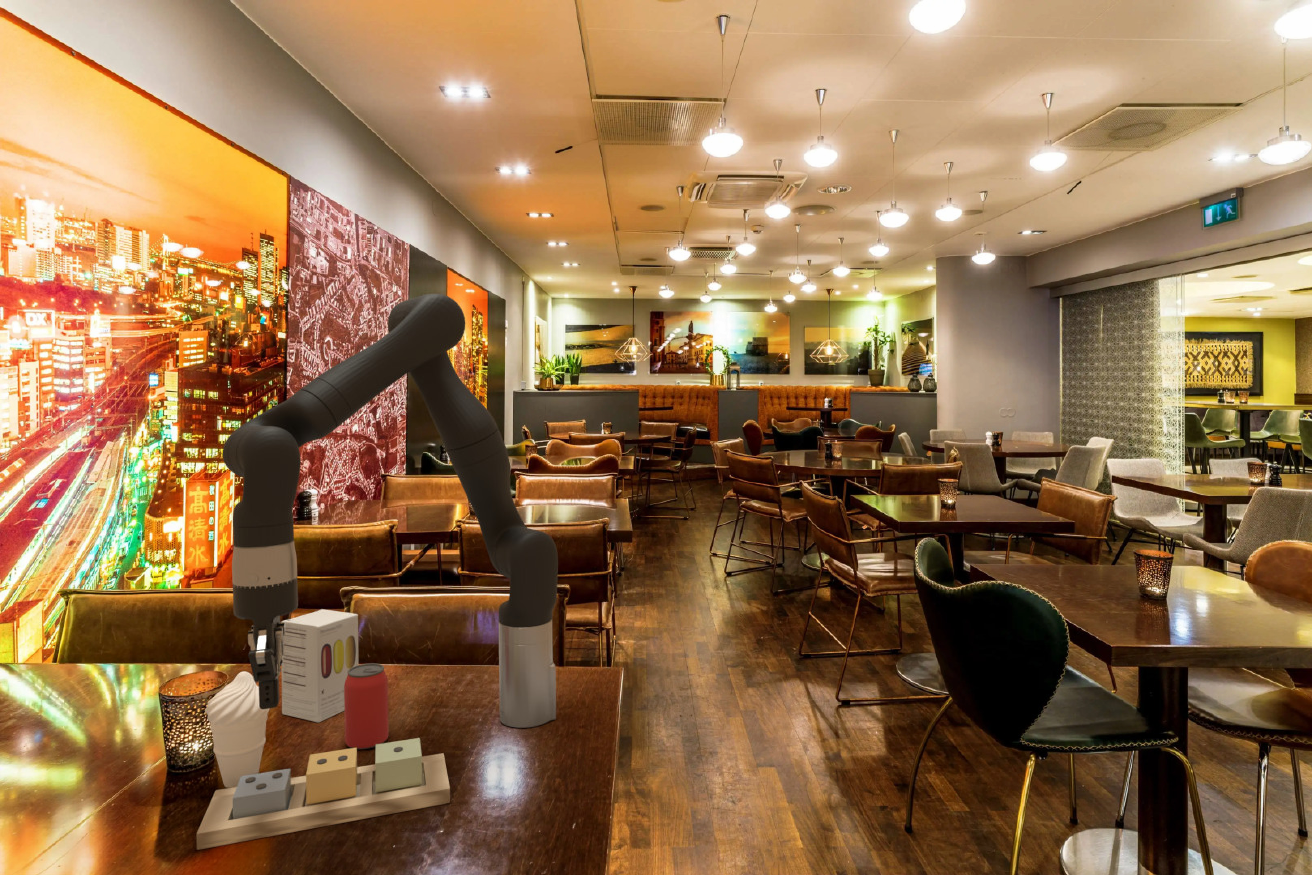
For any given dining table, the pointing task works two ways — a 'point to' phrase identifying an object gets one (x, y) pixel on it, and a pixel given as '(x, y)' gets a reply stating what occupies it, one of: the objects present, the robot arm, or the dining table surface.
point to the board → (323, 806)
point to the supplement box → (318, 663)
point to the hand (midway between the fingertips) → (269, 706)
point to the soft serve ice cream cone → (237, 728)
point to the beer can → (366, 706)
